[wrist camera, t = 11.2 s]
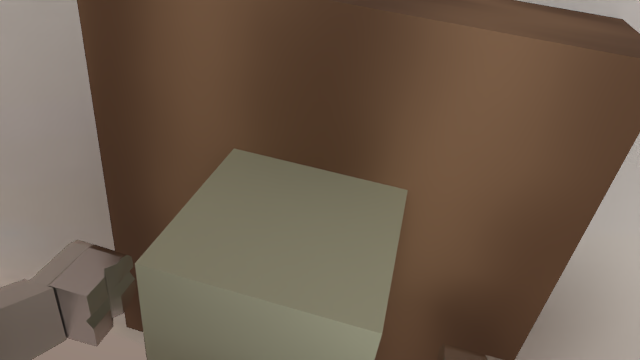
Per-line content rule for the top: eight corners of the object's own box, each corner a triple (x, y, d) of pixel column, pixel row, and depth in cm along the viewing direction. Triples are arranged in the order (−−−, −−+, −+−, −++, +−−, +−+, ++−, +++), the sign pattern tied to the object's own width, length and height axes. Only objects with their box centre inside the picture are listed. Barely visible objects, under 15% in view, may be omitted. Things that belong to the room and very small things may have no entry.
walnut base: (175, 262, 23) (126, 327, 19) (155, -64, 15) (69, -49, 12) (472, 346, 21) (474, 432, 18) (622, 19, 13) (676, 65, 10)
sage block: (230, 274, 16) (152, 406, 12) (234, 148, 14) (134, 263, 10) (373, 315, 16) (342, 469, 12) (408, 190, 13) (382, 333, 9)
